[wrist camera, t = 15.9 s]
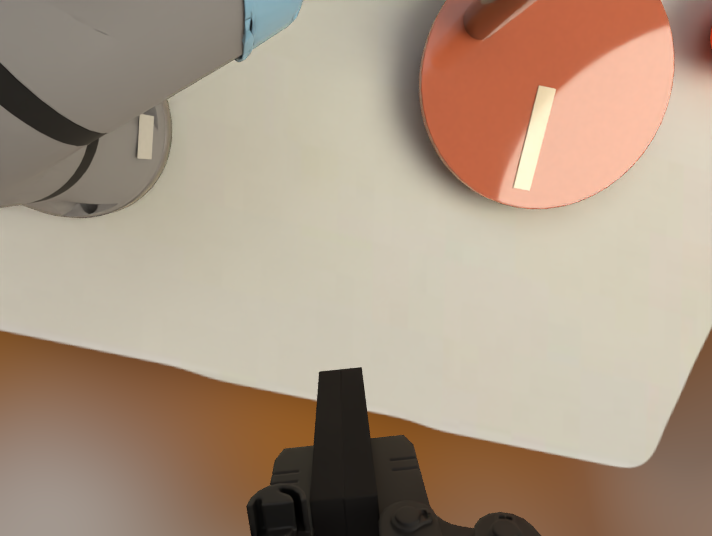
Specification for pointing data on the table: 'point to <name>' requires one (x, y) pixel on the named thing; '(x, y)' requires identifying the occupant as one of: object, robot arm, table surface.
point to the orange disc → (544, 94)
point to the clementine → (711, 38)
